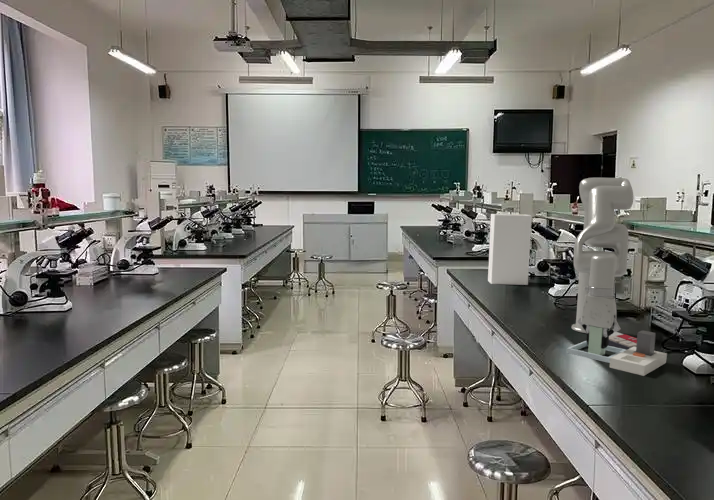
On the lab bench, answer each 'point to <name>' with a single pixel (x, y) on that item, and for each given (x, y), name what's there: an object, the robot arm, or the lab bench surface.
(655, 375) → the lab bench surface
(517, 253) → the storage box
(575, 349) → the light blue square frame
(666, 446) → the lab bench surface
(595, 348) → the sage plug
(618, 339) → the calculator
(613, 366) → the power strip
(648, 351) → the dark gray block
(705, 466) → the lab bench surface
